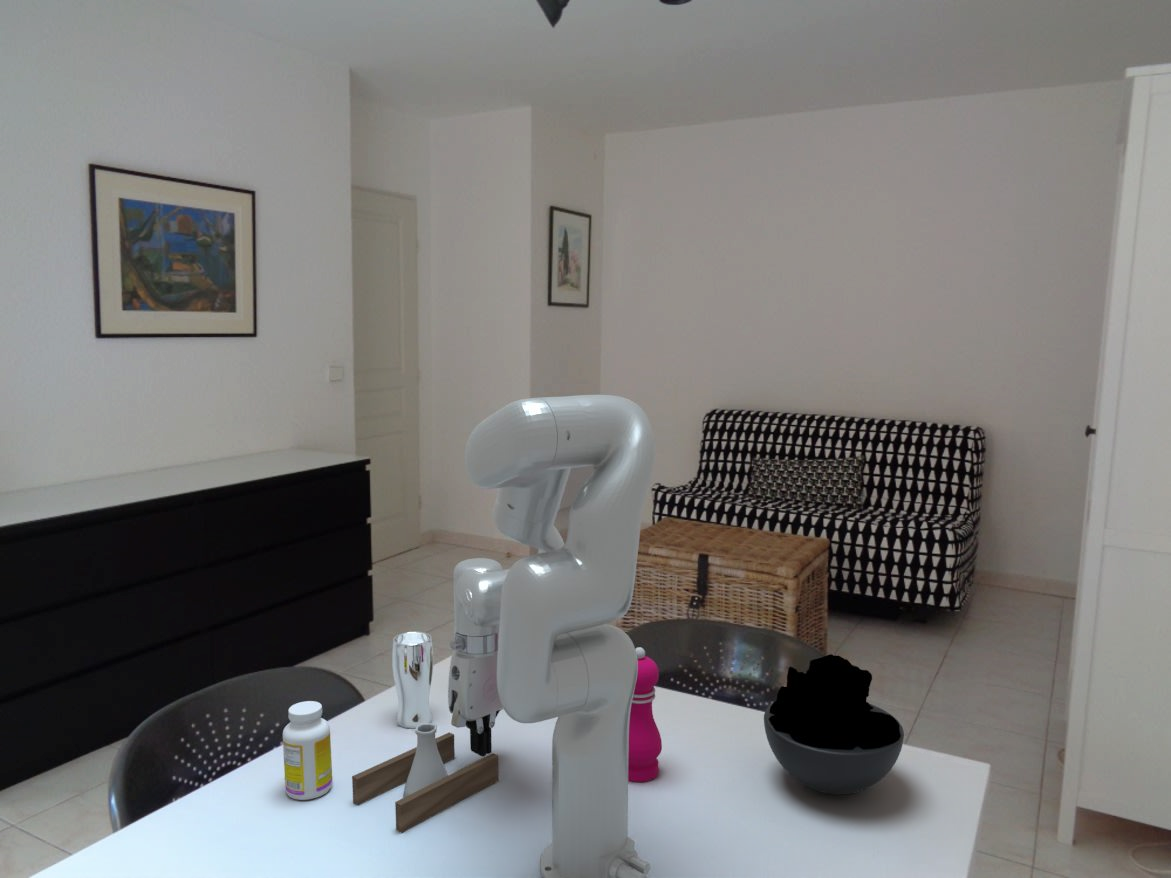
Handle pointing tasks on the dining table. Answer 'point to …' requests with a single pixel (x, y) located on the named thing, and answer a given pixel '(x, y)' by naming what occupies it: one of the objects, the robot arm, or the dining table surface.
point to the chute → (431, 796)
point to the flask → (425, 760)
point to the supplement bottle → (307, 752)
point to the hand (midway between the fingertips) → (481, 751)
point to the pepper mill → (643, 723)
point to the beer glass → (413, 677)
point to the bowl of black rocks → (832, 728)
